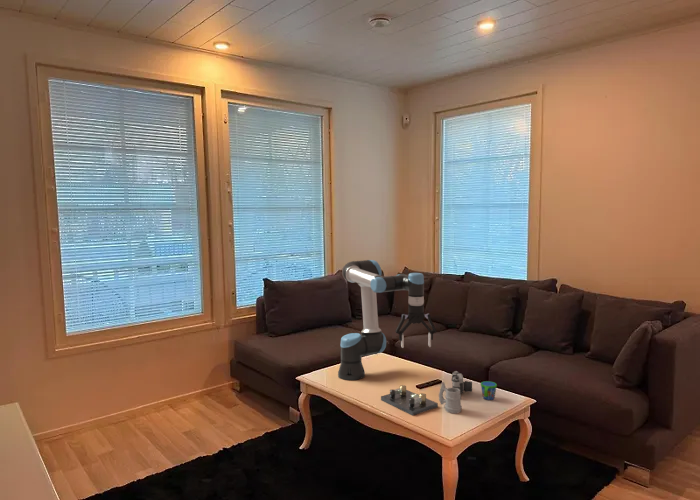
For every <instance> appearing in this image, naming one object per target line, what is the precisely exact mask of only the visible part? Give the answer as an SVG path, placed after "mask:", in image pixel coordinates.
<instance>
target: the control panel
mask: <svg viewBox="0 0 700 500" xmlns="http://www.w3.org/2000/svg"><path fill="white" fill-rule="evenodd" d="M419 394H420V393H415V392H412V391H410V390H408V389H406V395H400V394H397V395H395V398H390V393H389V394H385V395H381V396H380V401H382V402H384V403H386V404H388V405H390V406H392V407H394V408H396V409H399V410H400V411H402V412H404V413H406V414H408V415H409V416H416V415H419V414H421V413H424V412H428V411H431V410H433V409H436V408H438V407H439V404H438V402H436V401H433V400H432V399H429V398H427V397H426V404H420V403H416V404H414V407H410V406H409V398H416V397H419Z"/></svg>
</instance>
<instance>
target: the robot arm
mask: <svg viewBox="0 0 700 500" xmlns="http://www.w3.org/2000/svg"><path fill="white" fill-rule="evenodd" d="M341 275H342V278H343V279H344V280H345V281H346V282H349V283H352V284H353V283H357V285H358V286H359V287H360V293H361V308H362V309H361V310H362V321H363V322H362V323H363V329H362V330H361V333H358V332H354V333H353V332H351V333H347V334H345V335H343V336H342V337H341V338H340V365H339V369H338V371H337V376H338V378H339V379H341V380H345V381H356V380H362V379H364V378H365V376H366V371H365V369H364V366H363V363H362V357H365V356H371V355H378V354H382V353H383V352H384V351H385V349H386V347H387V338H386V335H385V333H383V332H382V329H381V328H380V327H379V316H378V315H379V314H378V303H377V294H378V293H380V294H381V293H386V292H387V293H388V292H396V291H408V298H407V299H408V302H407V303H408V309H407V310H408V313H407V314H405V313H402V314H401V319H400V321H399V322H398V324H397V327H396V329H395V333H396V334H398V335H399V336H398V339H399V341H400V346H401V348H402V349H404V347H405V346H404V345H405V342H404V341H405V339H404V336H405V334H404V333H405V331H406V330H407V329H408V327H409V326H410V325H411V324H422V325H423V326H424V327H425V328H426V329H427V331H428V337H427V338H428V339H427V340H428V341H427V342H428V343H427V346H428V347H429V348H431V347H432V341H433V340H434V334H435V333H437V328H436V327H435V325H434V323H433V321H432V317H431V314H430V313H429V312H428V313H426V314H425V312H424V311H425V307H424V306H425V305H424V304H425V299H424V297H425V280H424V279H425V277H424V274H423V273H422V272H421V273H420V272H410V273H408V275H407V274H404V273H402V274H401V273H398V274H396V275H391V276H389V275H388V276H383V275H382V268H381V265H380V264H379V262H378V261H377V260H374V259H366V260H353V261H349V262H347V263H346V264H345V265H344V266H343V267H342V271H341ZM407 318H408V320H407ZM425 318H426V319H427V321H428V322H429V325H430V326H431V328H430V326H429V325H428V324H427V323H426V322H425V321H424V319H425ZM406 320H407V322H406V323H405V321H406ZM404 323H405V324H404Z"/></svg>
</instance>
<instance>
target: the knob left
mask: <svg viewBox="0 0 700 500" xmlns="http://www.w3.org/2000/svg"><path fill="white" fill-rule="evenodd" d="M406 390H407V385H404V384H402V385H400V386H399V387H398V388H395V389H390V390H389V394H390V398H395V395H397V394H400V395H406Z"/></svg>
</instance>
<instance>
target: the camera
mask: <svg viewBox="0 0 700 500" xmlns="http://www.w3.org/2000/svg"><path fill="white" fill-rule="evenodd" d="M451 375H452V376H451V382H452V387H451V388H458V389H460V395H462V394H463V393H464V392H465V393H469V392H470V393H472V392H473V381H468V380H464V375H463V374H462V373H460V372H459V371H457V370H455V371H453V372H452V374H451Z"/></svg>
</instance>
